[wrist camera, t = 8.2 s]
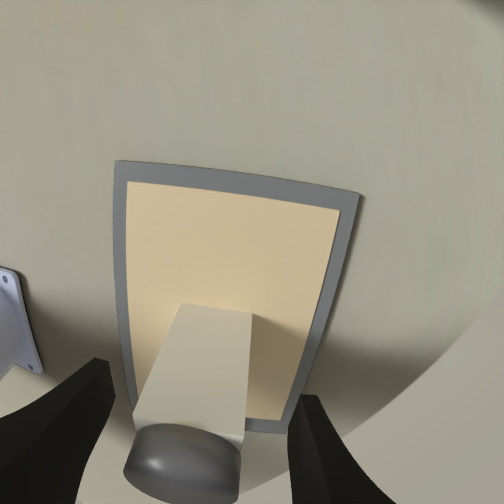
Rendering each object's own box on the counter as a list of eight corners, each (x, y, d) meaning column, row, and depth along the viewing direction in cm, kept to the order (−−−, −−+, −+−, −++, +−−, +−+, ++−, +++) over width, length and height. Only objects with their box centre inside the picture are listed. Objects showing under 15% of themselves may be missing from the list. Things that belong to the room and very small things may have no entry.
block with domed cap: (178, 356, 15) (133, 494, 7) (179, 299, 13) (113, 449, 6) (245, 367, 15) (232, 513, 7) (255, 311, 14) (245, 476, 6)
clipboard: (133, 404, 17) (127, 417, 16) (119, 160, 12) (105, 163, 11) (285, 429, 17) (286, 443, 16) (356, 192, 12) (365, 198, 11)
